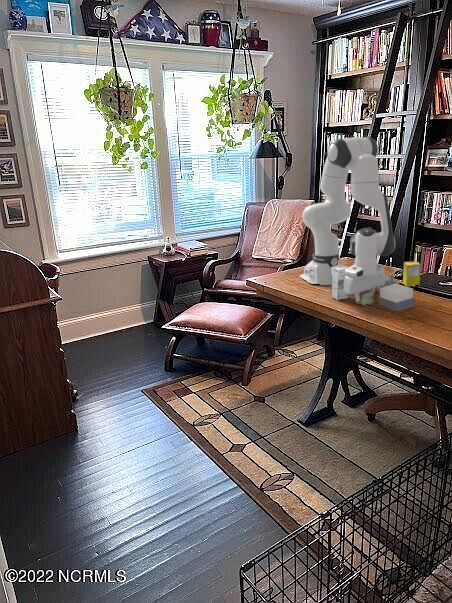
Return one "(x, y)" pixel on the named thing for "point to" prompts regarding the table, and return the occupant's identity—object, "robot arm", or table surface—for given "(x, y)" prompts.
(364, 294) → the sage cube
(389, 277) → the elephant statuette
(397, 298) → the tower top block
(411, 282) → the supplement box
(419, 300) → the table surface
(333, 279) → the syrup box
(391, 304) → the tower base block
